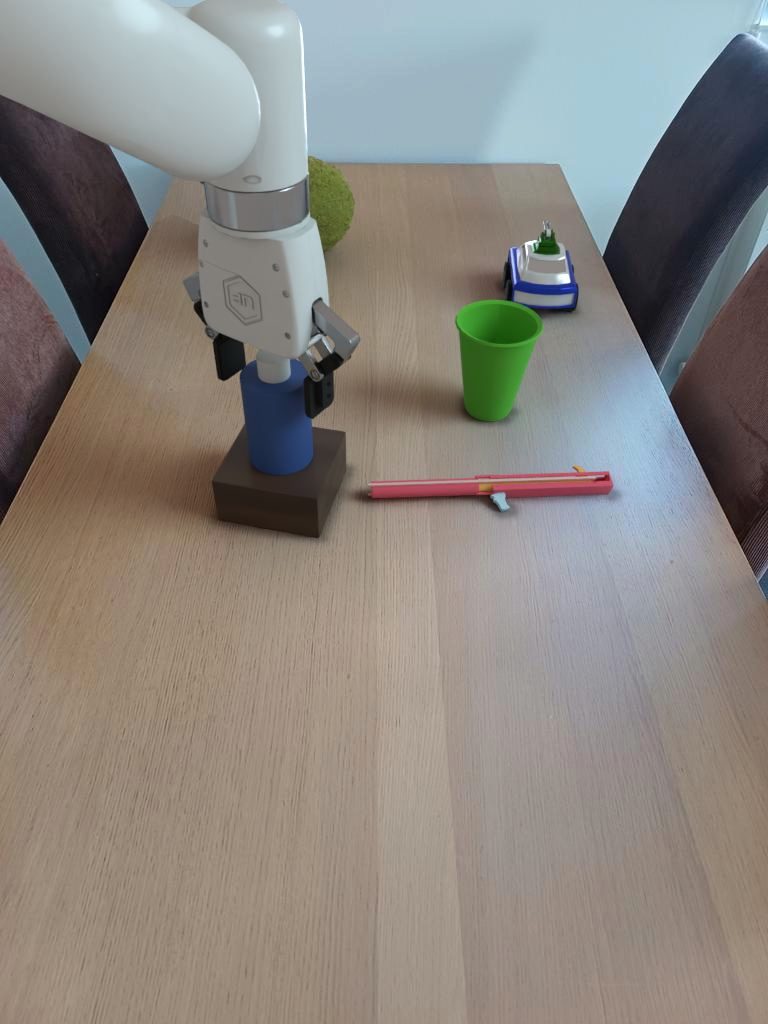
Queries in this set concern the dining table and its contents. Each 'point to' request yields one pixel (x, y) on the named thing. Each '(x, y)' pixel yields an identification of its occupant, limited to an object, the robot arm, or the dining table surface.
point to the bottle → (276, 414)
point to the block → (281, 487)
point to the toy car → (541, 274)
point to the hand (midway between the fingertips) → (274, 391)
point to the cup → (495, 354)
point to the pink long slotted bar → (499, 486)
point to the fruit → (329, 201)
